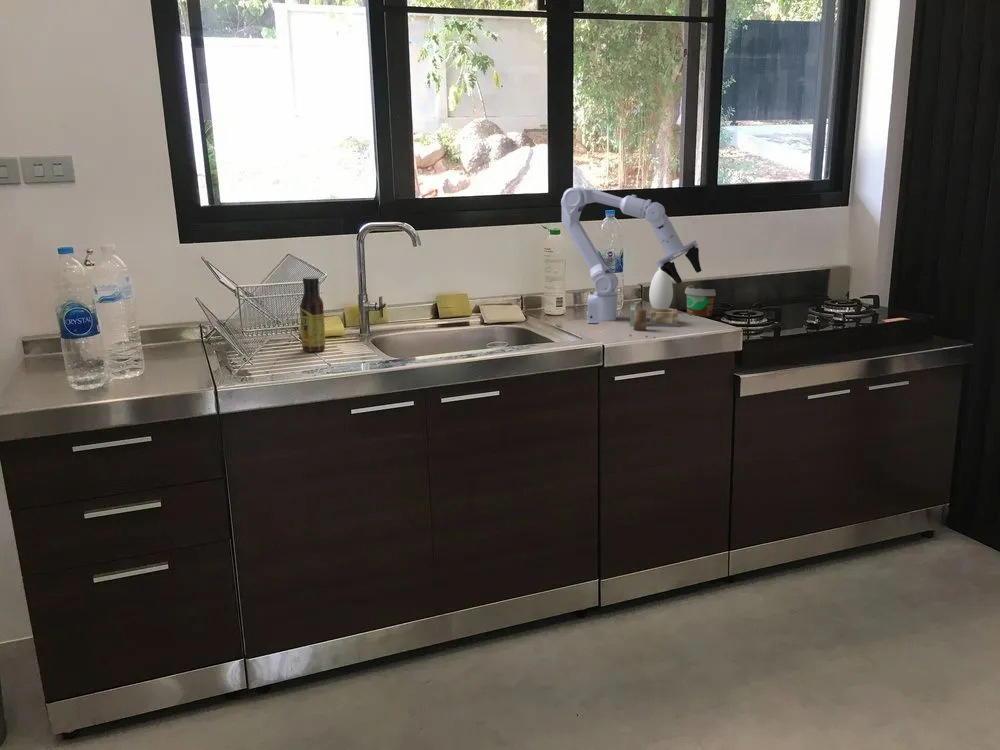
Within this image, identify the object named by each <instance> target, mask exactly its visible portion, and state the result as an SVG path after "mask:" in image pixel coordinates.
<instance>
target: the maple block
mask: <svg viewBox="0 0 1000 750" xmlns="http://www.w3.org/2000/svg"><path fill="white" fill-rule="evenodd" d="M678 316H679V312H678V309H677V308H667V309H655V308H652V307H651V308H650V317H649V318H650V321H649V323H657V324H678V322H677V320H678V321H679V318H678Z"/></svg>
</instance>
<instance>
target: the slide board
mask: <svg viewBox="0 0 1000 750" xmlns="http://www.w3.org/2000/svg"><path fill="white" fill-rule="evenodd" d="M636 306H637V305H636V304H635V303H631V304H630V311H629V327H634V310H636ZM646 327H664V328H665V327H666V328H667V327H668V328H680V323H679V319H678V320H677V324H657V323H650V317H646Z"/></svg>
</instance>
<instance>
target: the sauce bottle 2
mask: <svg viewBox="0 0 1000 750" xmlns="http://www.w3.org/2000/svg"><path fill="white" fill-rule="evenodd" d="M673 287H674V286H673V282H672V277H671V276H669V275H668V274H667V273H665V272H664V271H662V270H661V268H660V267H659V268H657V271H655V273H654V275H653V277H652V279H651V282H650V285H649V291H648V294H649V295H648V297H649V303H650V306H651V308H654V309H670V307H671V304H672V302H673V297H674V288H673Z"/></svg>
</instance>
